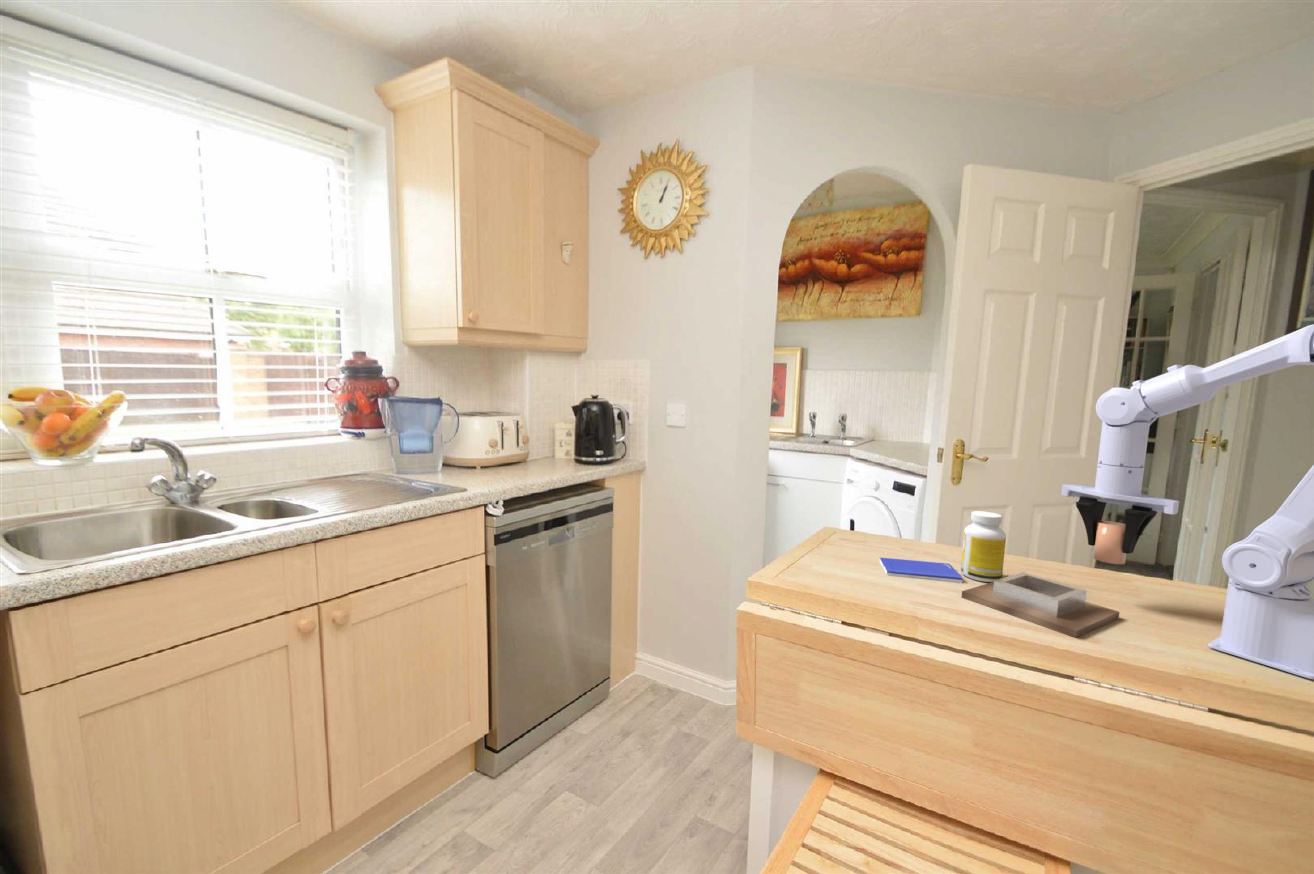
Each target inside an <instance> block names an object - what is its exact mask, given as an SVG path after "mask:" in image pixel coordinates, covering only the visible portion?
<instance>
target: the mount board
mask: <svg viewBox="0 0 1314 874" xmlns="http://www.w3.org/2000/svg"><path fill="white" fill-rule="evenodd" d="M993 588H994V582H987V583H986V584H982V585H978V586H975V587H972V588H968V589H965V590H962V591H961V598H963V599H966V600H968V601H972V602H973V603H977V604H980V605H983V606H985V607H987V608H991V609H994V610H997V611H999V612H1002V613H1005V614H1008V615H1010V616H1014V617H1016V618H1018V619H1022V620H1025V621H1027V622H1030V623H1033V624H1036V625H1038V626H1042V627H1045V628H1048V629H1050V630H1052V631H1055V632H1056V631H1057V632H1059V633H1061V634H1064V635H1066V636H1070V637H1073V638H1075V639H1076V638H1078V637H1081V636H1083V635H1085V634H1087V633H1090V632H1091V631H1094V630H1096V629H1098V628H1100V627H1102V626H1104V625H1107V624H1109V623H1111V622H1114V621H1117V620H1118V619H1119V618H1120V611H1117V610H1114V609H1111V608H1108V607H1105V606H1102V605H1099V604H1098V605H1097V604H1095V603H1091V602H1088V601H1085V607H1082V608H1080V609H1077V610H1075V611H1072V612H1070V613H1067V614H1065V615H1062V616H1060V617H1057V618H1056V617H1053V616H1050V615H1047V614H1044V613H1041V612H1038V611H1035V610H1032V609H1030V608H1027V607H1024V606H1021V605H1018V604H1015V603H1012V602H1009V601H1006V600H1003V599H1000V598H997V597H994V596H993Z"/></svg>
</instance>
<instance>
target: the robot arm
mask: <svg viewBox="0 0 1314 874" xmlns="http://www.w3.org/2000/svg"><path fill="white" fill-rule="evenodd" d="M1303 365H1304V366H1314V324H1310V325H1306V326H1304V327H1302V328H1300V329H1298V330H1295V331H1292V332H1290V333H1288V334H1286V335H1285V334H1284V335H1283V336H1281V337H1277V338H1275V339H1273V340H1270V341H1268V342H1266V343H1263V344H1261V345H1258V346H1256V347H1255V346H1254V347H1253V348H1250V349H1248V350H1246V351H1243V352H1240V353H1239V354H1235V355H1234V356H1231V357H1228V358H1226V359H1224V360H1222V361H1219V362H1216V363H1214V364H1211V365H1209V366H1206V367H1202V366H1198V365H1193V364H1187V365H1184V366H1183V364H1174V365H1172V366H1168V367H1167V371H1168V372H1165V373H1163V374H1159V375H1157V376H1155V377H1151V378H1150V379H1149V378H1148V379H1147V380H1142V379H1139V380H1136V381H1133V382H1132V383H1131V384H1132V386H1130V388H1125V387H1111V389H1109V390H1107V391H1105V392H1104V393H1103V394H1101V395H1100V396H1099V398H1098V399H1097V401H1096V404H1095V412H1096V415H1097V417H1098V419H1100V420H1101V432H1100V440H1099V448H1098V454H1097V455H1098V456H1097V465H1096V474H1095V481H1094V482H1095V483H1094V486H1087V485H1078V484H1072V483H1063V484H1062V487H1061V496H1062V497H1068V498H1070V497H1071V498H1078V501H1076V502H1075V507H1076V508H1077V510H1078V512H1079V514H1080V516H1081V518H1082V521H1083V524H1084V527H1085V532H1086V536H1087V537H1086V538H1087V545H1088V546H1092V547H1093V546H1095V538H1096V530H1097V521H1103V518H1104V513H1105V508H1106V506H1107V504H1112V505H1117V506H1118V505H1119V506H1125V507H1129V508H1126V509H1124V517H1125V518H1124V519H1125V520H1124V521H1125V523H1124V524H1125V537H1124V543H1123V553H1126V555H1128V554H1132V553H1134V551H1135V548H1136V546H1137V543H1138V541H1139V539H1140V537H1141V535H1142V534H1143V532H1144V531H1145V529H1146V528H1147V526H1148V525H1150V523H1151V521H1152V520H1153V519H1154V518H1155V517H1156V516H1157V514H1158V512H1159V513H1163V514H1167V515H1172V516H1173V515H1176V514H1178V512H1179V506H1180V501H1179V500H1174V499H1169V498H1164V497H1159V496H1154V495H1150V494H1145V493H1144V494H1142V488H1143V480H1144V472H1145V464H1146V455H1147V448H1148V441H1149V434H1150V426H1151V425H1152V424H1153V423H1154V422H1155V421H1157V419H1158V418H1160V417H1163V416H1166V415H1170V414H1173V413H1176V412H1178V411H1183V410H1186V409H1188V408H1192V407H1195V406H1198V405H1201V404H1204V403H1207V402H1209V401H1212V399H1213V398H1214V397H1215V395H1216V393H1217V392H1218V390H1219V389H1220V388H1224V387H1227V386H1230V385H1233V384H1234V385H1235V384H1237V383H1241V382H1244V381H1248V380H1251V379H1254V378H1257V377H1260V376H1263V375H1267V374H1270V373H1274V372H1276V371H1277V372H1278V371H1281V370H1284V369H1288V368H1290V367H1294V366H1303ZM1221 557H1222V558H1221V564H1222V568H1223V570H1224V572H1225V574H1226V575H1227V576H1228V583H1227V589H1226V596H1225V603H1224V610H1223V611H1224V612H1223V618H1222V624H1221V631H1220V635H1219V636H1217V637H1216V638H1214V639H1213V640H1212V641H1210V642H1208V645H1207V647H1208V648H1211V649H1213V650H1217V651H1220V652H1223V653H1227V654H1229V655H1233V656H1236V657H1239V658H1241V659H1245V660H1248V661H1251V662H1255V663H1258V664H1262V665H1265V666H1268V667H1271V668H1274V669H1277V670H1281V671H1283V672H1287V673H1290V674H1293V675H1297V676H1300V677H1303V678H1305V679H1309V680H1314V598H1312V597H1311V596H1312V592H1311V589H1310V587H1309V584H1308V583H1310V582H1313V581H1314V464H1313V465H1312V466H1311V467H1310V469H1309V470H1308V471H1307V473H1306V474H1304V476H1303V477H1302V479H1301V480H1300V482H1299V483H1298V484H1297V486H1295V488H1294V489H1293V490H1292V491H1291V493H1290V494H1289V495H1288V497H1287V498H1286V499H1285V500H1284V501H1283V503H1282V505H1281V506H1279V508H1278V509H1277V510H1276V512H1275V513H1274V514H1273V515H1271V517H1269V518H1268V519H1267V520H1265V521H1264V522H1261V524H1259V525H1258V526H1255V528H1254V529H1253V530H1252V531H1251V533H1250V534H1249V535H1248V536H1247V537H1246V538H1244V539H1242V540H1239V541H1237V542H1235V543H1233V544H1231V545H1229V546H1228V547H1227V548H1226V549H1225V550H1224V551H1223V554H1222V556H1221Z"/></svg>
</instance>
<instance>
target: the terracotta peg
mask: <svg viewBox="0 0 1314 874" xmlns="http://www.w3.org/2000/svg"><path fill="white" fill-rule="evenodd" d="M1124 537H1125V523H1122V522H1118V521H1109V520H1102V521H1097V530H1096V538H1095V545H1094V548H1093V555H1092V558H1093V559H1094V560H1097V561H1099V562H1103V563H1107V564H1114V565H1125V564H1126V559H1127V553H1123V543H1124Z"/></svg>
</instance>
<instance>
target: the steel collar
mask: <svg viewBox="0 0 1314 874" xmlns="http://www.w3.org/2000/svg"><path fill="white" fill-rule="evenodd" d="M993 596H994V597H997V598H1000V599H1003V600H1006V601H1009V602H1012V603H1015V604H1018V605H1021V606H1024V607H1027V608H1030V609H1032V610H1035V611H1038V612H1041V613H1044V614H1047V615H1050V616H1053V617H1056V618H1057V617H1060V616H1062V615H1065V614H1067V613H1070V612H1072V611H1075V610H1077V609H1080V608H1082V607H1085V602H1086V600H1087V599H1086V598H1087V590H1086V589H1082V588H1079V587H1075V586H1072V585H1069V584H1064V583H1061V582H1057V581H1054V580H1051V579H1047V578H1044V577H1042V576H1037V575H1034V574H1030V573H1027V572H1020V573H1016V574H1013V575H1010V576H1009V575H1008V576H1006V577H1002V579H999V580H995V581H994V588H993Z"/></svg>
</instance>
